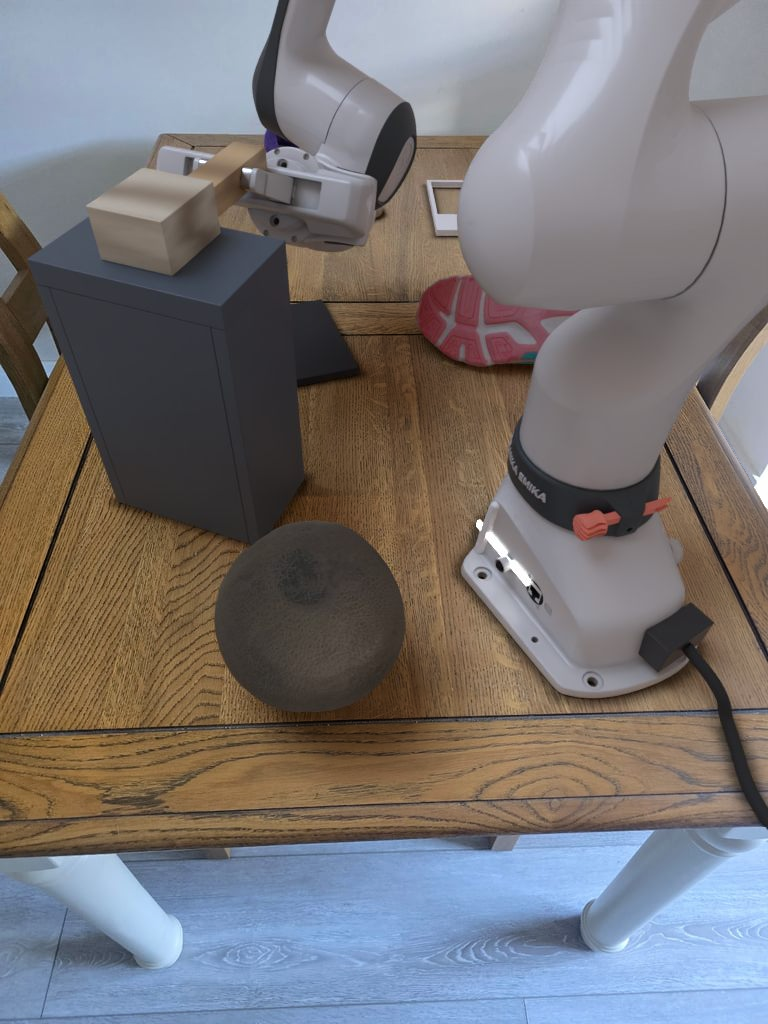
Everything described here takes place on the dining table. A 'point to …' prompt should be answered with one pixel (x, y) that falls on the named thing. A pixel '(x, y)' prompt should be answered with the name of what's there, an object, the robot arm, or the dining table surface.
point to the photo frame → (443, 222)
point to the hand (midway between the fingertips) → (224, 173)
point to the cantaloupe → (309, 617)
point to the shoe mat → (318, 345)
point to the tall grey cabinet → (184, 376)
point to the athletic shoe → (482, 324)
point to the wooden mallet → (170, 211)
